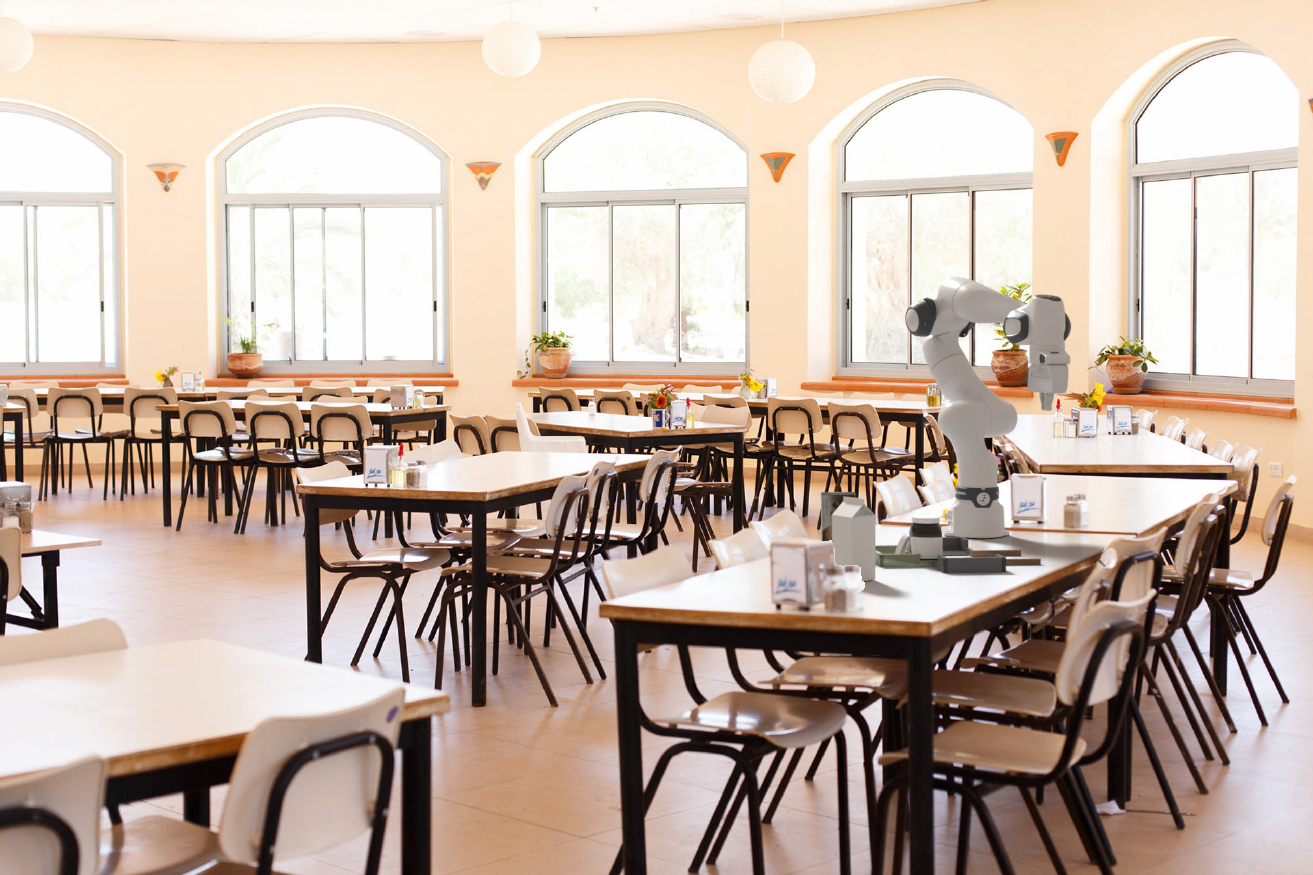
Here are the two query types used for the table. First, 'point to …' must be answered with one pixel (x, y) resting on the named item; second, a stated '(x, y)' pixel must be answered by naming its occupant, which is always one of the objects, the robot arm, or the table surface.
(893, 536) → the table surface
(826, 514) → the coffee box
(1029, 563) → the lane
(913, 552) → the spread jar
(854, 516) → the milk carton
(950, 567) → the dark grey shallow tray
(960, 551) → the grey open tray
